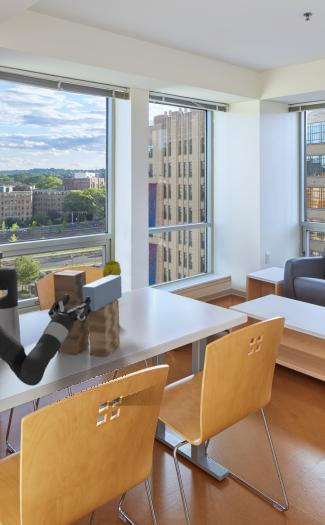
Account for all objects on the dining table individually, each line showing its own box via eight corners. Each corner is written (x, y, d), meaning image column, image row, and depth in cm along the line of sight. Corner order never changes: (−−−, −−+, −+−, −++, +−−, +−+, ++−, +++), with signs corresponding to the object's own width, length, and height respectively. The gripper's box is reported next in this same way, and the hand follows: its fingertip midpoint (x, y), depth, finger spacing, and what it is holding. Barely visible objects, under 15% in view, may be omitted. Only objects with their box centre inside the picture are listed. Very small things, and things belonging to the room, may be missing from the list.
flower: (107, 320, 230) (105, 260, 225) (123, 320, 229) (121, 260, 224) (103, 326, 221) (101, 263, 216) (120, 326, 221) (118, 263, 215)
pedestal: (77, 355, 185) (73, 275, 180) (57, 352, 189) (53, 274, 183) (88, 347, 194) (85, 271, 188) (70, 344, 197) (66, 269, 191)
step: (106, 357, 182) (104, 307, 179) (90, 355, 185) (88, 306, 181) (119, 347, 193) (118, 299, 190) (104, 345, 196) (102, 298, 192)
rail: (95, 311, 174) (94, 287, 173) (83, 309, 176) (82, 286, 175) (121, 297, 195) (121, 275, 193) (110, 296, 196) (110, 274, 195)
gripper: (43, 335, 161) (65, 302, 173) (79, 340, 156) (99, 306, 168) (35, 320, 157) (58, 287, 168) (72, 325, 152) (93, 290, 163)
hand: (78, 296), depth 168 cm, fingers open, 8 cm apart
